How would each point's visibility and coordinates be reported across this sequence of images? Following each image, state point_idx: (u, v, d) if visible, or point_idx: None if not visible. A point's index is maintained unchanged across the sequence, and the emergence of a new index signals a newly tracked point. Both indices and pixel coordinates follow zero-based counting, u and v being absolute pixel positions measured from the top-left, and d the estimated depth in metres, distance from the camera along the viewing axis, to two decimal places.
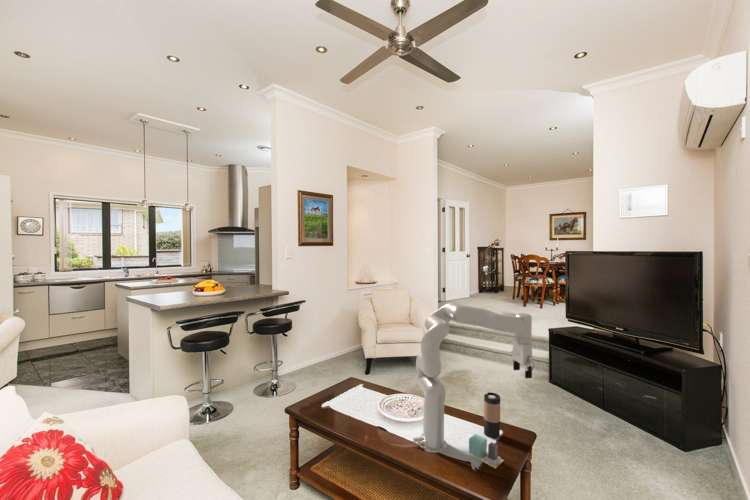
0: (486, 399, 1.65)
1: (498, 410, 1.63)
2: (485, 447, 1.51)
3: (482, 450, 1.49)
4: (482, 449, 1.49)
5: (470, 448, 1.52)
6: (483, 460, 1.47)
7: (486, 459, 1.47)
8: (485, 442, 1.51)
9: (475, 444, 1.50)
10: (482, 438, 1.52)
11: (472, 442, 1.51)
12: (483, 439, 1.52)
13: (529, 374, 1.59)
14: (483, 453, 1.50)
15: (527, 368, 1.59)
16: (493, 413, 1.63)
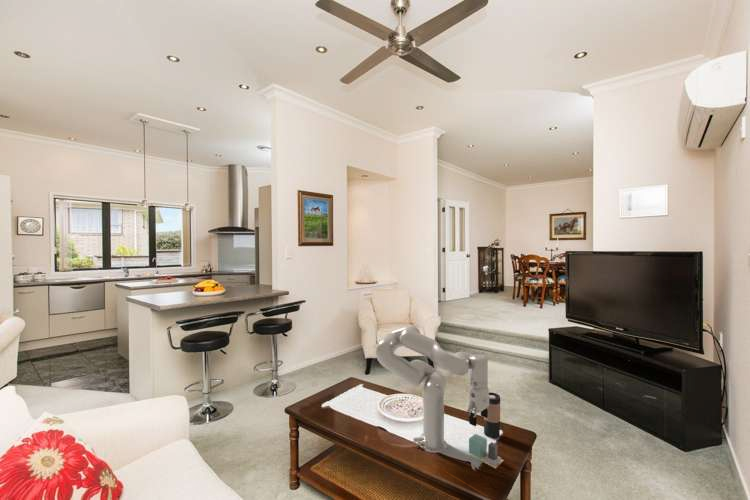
0: None
1: (498, 410, 1.63)
2: (485, 447, 1.51)
3: (482, 450, 1.49)
4: (482, 449, 1.49)
5: (470, 448, 1.52)
6: (483, 460, 1.47)
7: (486, 459, 1.47)
8: (485, 442, 1.51)
9: (475, 444, 1.50)
10: (482, 438, 1.52)
11: (472, 442, 1.51)
12: (483, 439, 1.52)
13: None
14: (483, 453, 1.50)
15: (487, 406, 1.55)
16: (493, 413, 1.63)
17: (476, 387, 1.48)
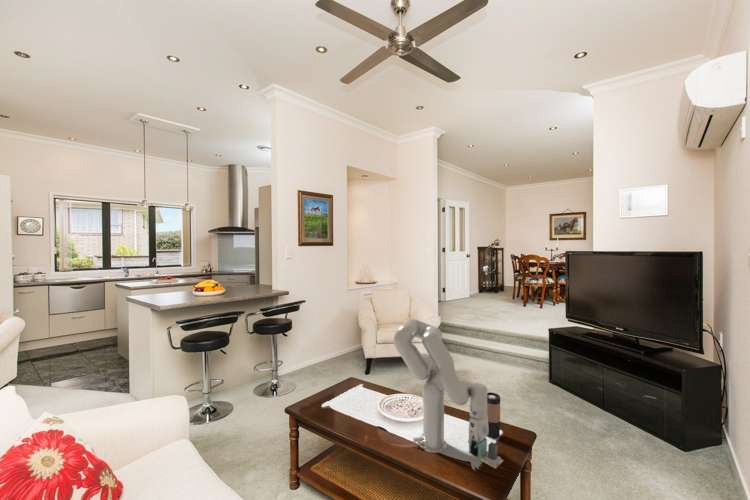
0: None
1: (498, 410, 1.63)
2: (485, 447, 1.51)
3: (482, 450, 1.49)
4: (482, 449, 1.49)
5: (470, 448, 1.52)
6: (483, 460, 1.47)
7: (486, 459, 1.47)
8: (485, 442, 1.51)
9: None
10: None
11: None
12: (483, 439, 1.52)
13: None
14: (483, 453, 1.50)
15: None
16: (493, 413, 1.63)
17: (475, 417, 1.48)
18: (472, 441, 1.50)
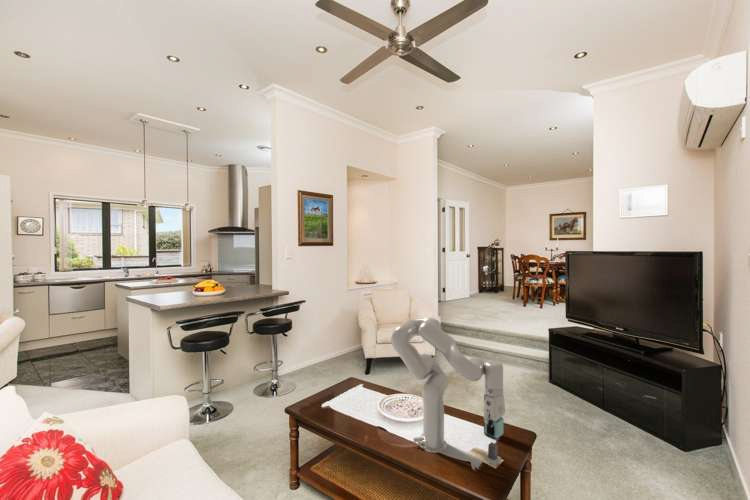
0: None
1: None
2: (502, 427, 1.45)
3: (499, 429, 1.44)
4: (499, 429, 1.43)
5: (486, 427, 1.46)
6: (483, 460, 1.47)
7: (486, 459, 1.47)
8: (502, 421, 1.45)
9: None
10: None
11: None
12: (500, 418, 1.46)
13: None
14: (500, 433, 1.44)
15: None
16: None
17: (491, 395, 1.43)
18: (488, 420, 1.45)
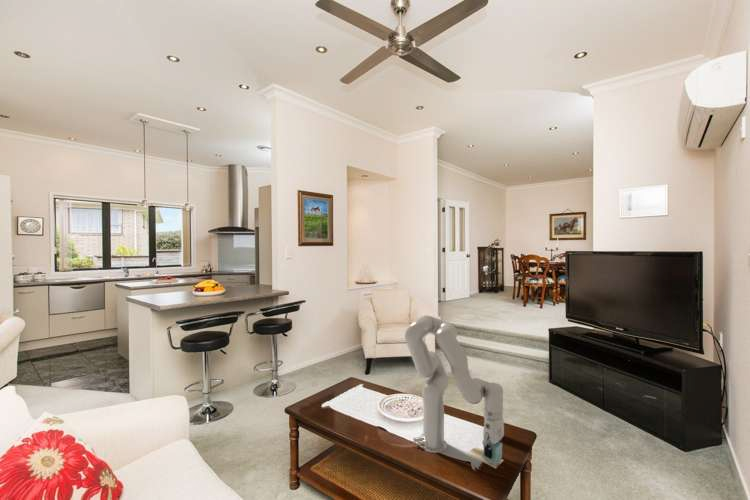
0: None
1: None
2: (500, 451, 1.46)
3: (497, 454, 1.44)
4: (497, 454, 1.44)
5: None
6: (483, 460, 1.47)
7: (486, 459, 1.47)
8: (500, 446, 1.46)
9: None
10: (497, 442, 1.47)
11: None
12: (498, 443, 1.46)
13: None
14: (498, 457, 1.45)
15: (501, 438, 1.49)
16: None
17: (491, 418, 1.43)
18: None
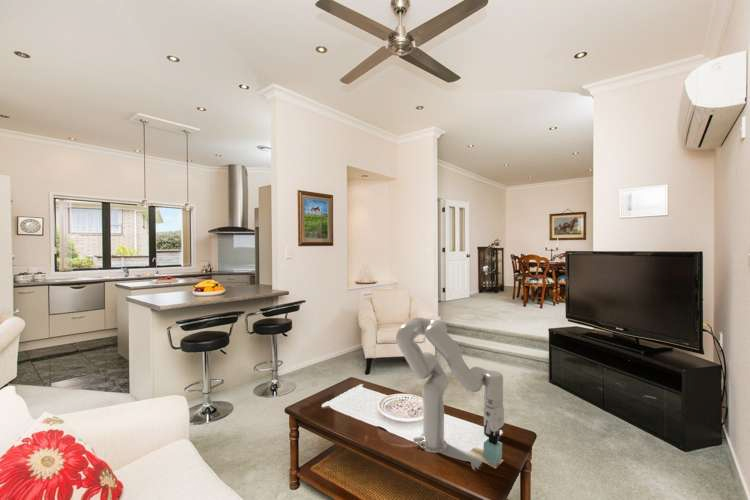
0: None
1: None
2: (500, 451, 1.46)
3: (497, 454, 1.44)
4: (497, 454, 1.44)
5: (485, 452, 1.46)
6: (483, 460, 1.47)
7: (486, 459, 1.47)
8: (500, 446, 1.46)
9: (490, 448, 1.44)
10: None
11: (487, 446, 1.46)
12: (498, 443, 1.46)
13: None
14: (498, 457, 1.45)
15: None
16: None
17: (491, 405, 1.43)
18: (490, 429, 1.46)
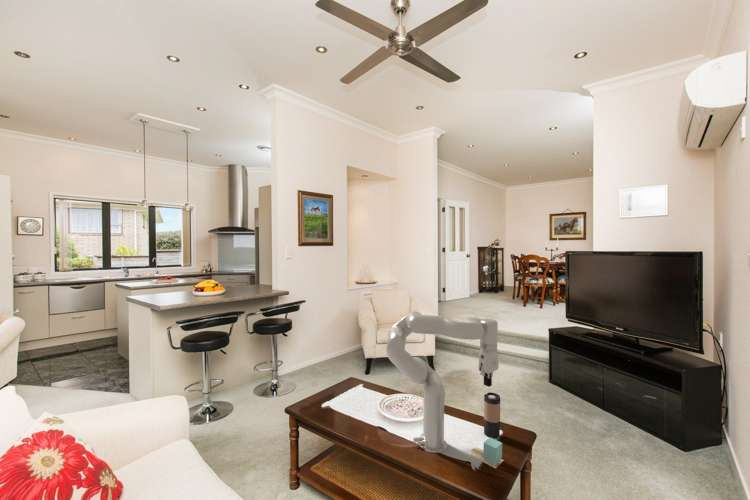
0: (486, 399, 1.65)
1: (498, 410, 1.63)
2: (500, 451, 1.46)
3: (497, 454, 1.44)
4: (497, 454, 1.44)
5: (485, 452, 1.46)
6: (483, 460, 1.47)
7: (486, 459, 1.47)
8: (500, 446, 1.46)
9: (490, 448, 1.44)
10: (497, 442, 1.47)
11: (487, 446, 1.46)
12: (498, 443, 1.46)
13: None
14: (498, 457, 1.45)
15: (492, 375, 1.57)
16: (493, 413, 1.63)
17: (486, 349, 1.53)
18: (484, 373, 1.57)
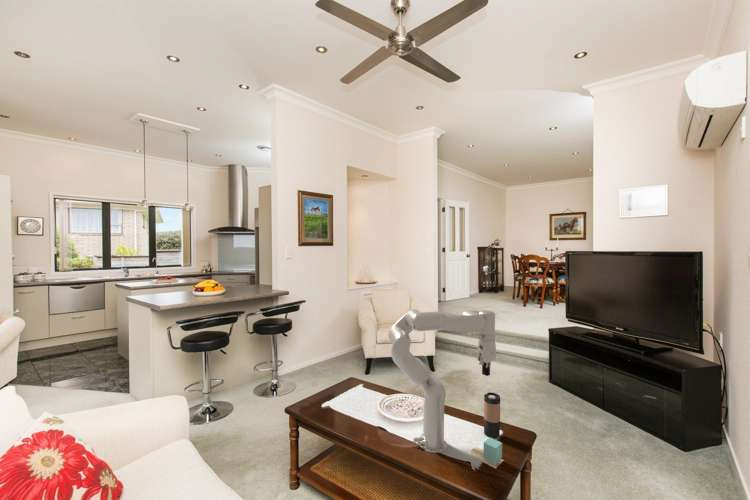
0: (486, 399, 1.65)
1: (498, 410, 1.63)
2: (500, 451, 1.46)
3: (497, 454, 1.44)
4: (497, 454, 1.44)
5: (485, 452, 1.46)
6: (483, 460, 1.47)
7: (486, 459, 1.47)
8: (500, 446, 1.46)
9: (490, 448, 1.44)
10: (497, 442, 1.47)
11: (487, 446, 1.46)
12: (498, 443, 1.46)
13: None
14: (498, 457, 1.45)
15: (490, 365, 1.62)
16: (493, 413, 1.63)
17: (484, 339, 1.58)
18: None
